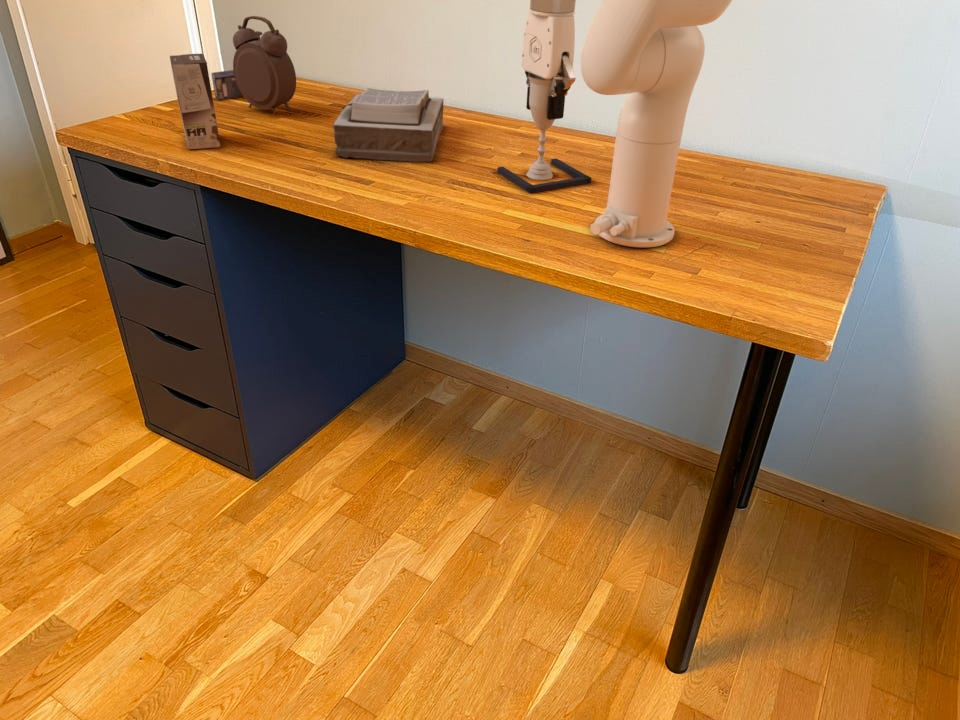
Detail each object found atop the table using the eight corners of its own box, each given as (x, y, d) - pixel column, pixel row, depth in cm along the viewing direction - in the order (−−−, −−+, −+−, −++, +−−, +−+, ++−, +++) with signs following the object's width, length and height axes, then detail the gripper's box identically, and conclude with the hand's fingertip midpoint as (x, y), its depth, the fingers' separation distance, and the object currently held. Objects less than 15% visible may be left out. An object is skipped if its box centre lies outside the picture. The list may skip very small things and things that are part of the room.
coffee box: (221, 147, 147) (207, 62, 138) (187, 150, 145) (170, 64, 136) (217, 134, 154) (203, 52, 145) (185, 136, 152) (168, 54, 143)
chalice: (555, 183, 135) (564, 81, 125) (518, 180, 136) (524, 78, 126) (559, 170, 141) (568, 72, 131) (524, 167, 142) (531, 69, 132)
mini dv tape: (218, 100, 176) (213, 74, 172) (215, 98, 177) (211, 72, 173) (250, 95, 180) (246, 69, 177) (247, 94, 181) (243, 68, 178)
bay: (591, 183, 136) (591, 177, 135) (529, 193, 130) (530, 188, 130) (555, 163, 144) (556, 158, 144) (497, 172, 139) (497, 167, 138)
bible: (313, 155, 144) (308, 104, 139) (363, 118, 166) (360, 73, 160) (426, 168, 140) (426, 115, 134) (463, 128, 162) (463, 82, 156)
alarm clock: (304, 112, 169) (294, 18, 158) (281, 119, 164) (270, 22, 153) (259, 102, 175) (247, 10, 164) (236, 108, 170) (221, 14, 159)
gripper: (507, -3, 127) (502, 103, 137) (562, 13, 114) (552, 129, 124) (544, -5, 130) (537, 100, 140) (601, 10, 117) (589, 124, 127)
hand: (544, 112), depth 132 cm, fingers closed on chalice, 6 cm apart
